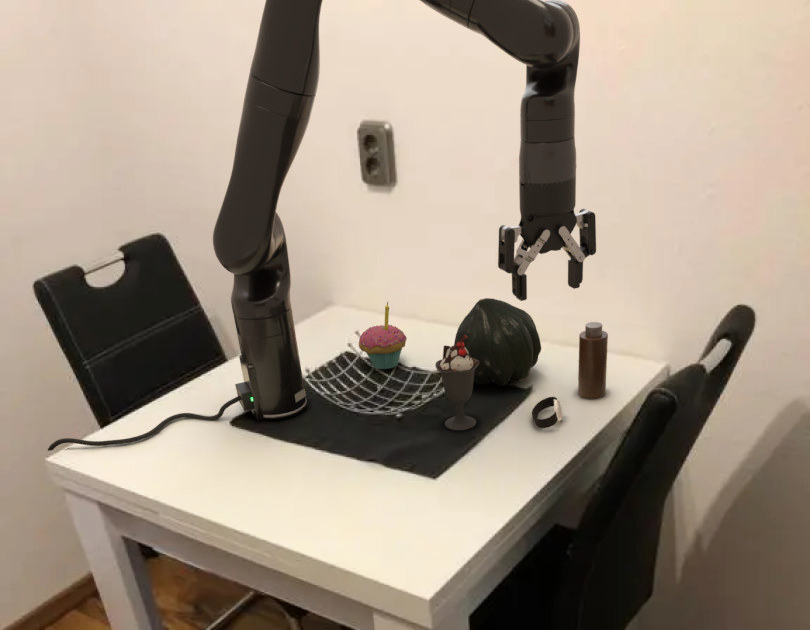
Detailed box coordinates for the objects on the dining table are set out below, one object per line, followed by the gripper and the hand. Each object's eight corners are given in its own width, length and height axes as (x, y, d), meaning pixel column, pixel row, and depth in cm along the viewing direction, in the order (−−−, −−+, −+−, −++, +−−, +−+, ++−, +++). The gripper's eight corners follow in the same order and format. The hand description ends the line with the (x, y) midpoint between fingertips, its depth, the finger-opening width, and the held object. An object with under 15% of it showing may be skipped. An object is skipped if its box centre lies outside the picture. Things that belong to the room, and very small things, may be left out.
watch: (560, 432, 138) (560, 410, 136) (529, 431, 139) (529, 409, 137) (564, 409, 144) (564, 388, 142) (534, 409, 145) (534, 388, 143)
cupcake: (416, 359, 166) (411, 295, 159) (391, 376, 160) (385, 311, 154) (378, 352, 170) (371, 289, 164) (352, 369, 164) (344, 305, 158)
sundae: (479, 433, 139) (475, 340, 131) (436, 432, 141) (429, 340, 133) (484, 414, 145) (481, 324, 136) (443, 414, 146) (437, 324, 138)
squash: (557, 329, 158) (498, 267, 153) (554, 367, 146) (490, 301, 141) (498, 379, 165) (440, 322, 161) (490, 419, 153) (427, 358, 149)
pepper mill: (586, 401, 146) (589, 332, 139) (572, 391, 149) (574, 323, 143) (610, 394, 147) (613, 326, 140) (596, 385, 150) (598, 317, 144)
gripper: (579, 161, 126) (577, 276, 135) (487, 178, 122) (491, 295, 131) (609, 170, 120) (604, 290, 129) (512, 188, 116) (515, 310, 125)
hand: (547, 293), depth 130 cm, fingers open, 8 cm apart
